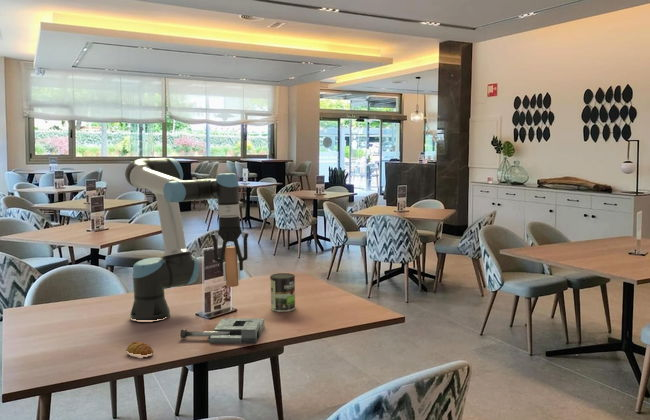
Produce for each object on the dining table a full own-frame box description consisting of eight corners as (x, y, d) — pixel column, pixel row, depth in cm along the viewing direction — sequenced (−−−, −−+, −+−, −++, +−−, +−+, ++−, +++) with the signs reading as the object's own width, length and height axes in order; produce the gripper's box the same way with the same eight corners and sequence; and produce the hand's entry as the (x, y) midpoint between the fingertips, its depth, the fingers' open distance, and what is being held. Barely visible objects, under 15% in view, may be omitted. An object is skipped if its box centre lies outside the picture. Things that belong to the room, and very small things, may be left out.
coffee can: (300, 307, 238) (299, 274, 237) (284, 313, 230) (283, 279, 229) (282, 303, 245) (281, 271, 243) (265, 309, 236) (264, 276, 235)
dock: (206, 343, 197) (205, 329, 196) (218, 326, 215) (218, 313, 214) (255, 343, 196) (255, 329, 195) (264, 326, 214) (264, 313, 213)
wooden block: (226, 284, 209) (225, 246, 207) (238, 283, 209) (237, 246, 208) (225, 287, 204) (223, 248, 203) (238, 286, 205) (236, 248, 203)
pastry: (159, 355, 187) (158, 343, 187) (142, 361, 182) (141, 350, 181) (140, 349, 192) (140, 338, 192) (123, 355, 187) (123, 344, 186)
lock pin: (180, 339, 200) (180, 331, 200) (183, 336, 203) (182, 328, 203) (228, 339, 199) (228, 331, 199) (230, 336, 202) (230, 328, 202)
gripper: (203, 218, 200) (206, 283, 202) (252, 216, 201) (255, 280, 203) (206, 216, 207) (209, 278, 209) (253, 214, 208) (256, 276, 211)
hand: (232, 279), depth 206 cm, fingers closed on wooden block, 4 cm apart
